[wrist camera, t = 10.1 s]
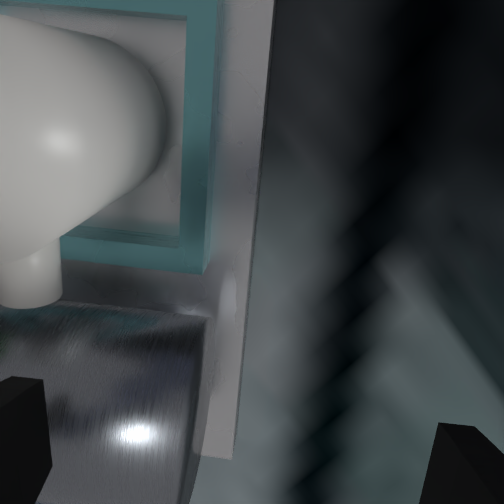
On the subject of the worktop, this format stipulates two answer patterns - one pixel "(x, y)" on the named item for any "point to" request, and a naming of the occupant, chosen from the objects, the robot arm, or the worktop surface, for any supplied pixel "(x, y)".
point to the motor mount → (155, 263)
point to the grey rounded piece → (65, 145)
